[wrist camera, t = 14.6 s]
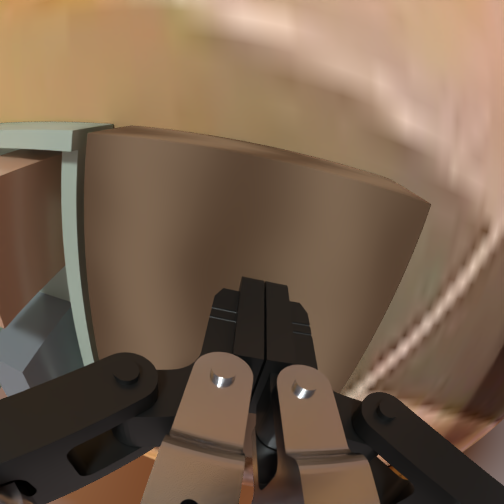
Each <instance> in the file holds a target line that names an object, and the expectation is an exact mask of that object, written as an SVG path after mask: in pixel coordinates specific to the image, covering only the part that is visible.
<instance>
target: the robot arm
mask: <svg viewBox="0 0 504 504" xmlns="http://www.w3.org/2000/svg"><path fill="white" fill-rule="evenodd" d="M309 326H310V323H309V317H308V313H307V312H306V310H305V309H304V308H303V306H302V305H301V304H300V303H298V302H292V301H289V293H288V286H287V285H283V284H278V283H273V282H268V281H265V283H264V281H263V280H258V279H253V278H248V277H243V276H242V278H241V282H240V286H239V291H236V290H231V289H226V288H223V289H222V290H220V291H219V292H218V293H217V294H216V295H215V296H214V300H213V304H212V309H211V312H210V317H209V321H208V325H207V329H206V333H205V337H204V342H203V346H202V350H201V353H200V356H199V357H198V359H197V360H196V361H195V362H193V363H192V364H190V365H189V366H186V367H184V368H180V369H172V370H156V368H155V366H154V365H153V364H152V363H151V362H150V361H149V360H148V359H146V358H145V357H143V356H141V355H138V354H135V353H129V352H122V353H116V354H113V355H110V356H108V357H105V358H103V359H101V360H98V361H96V362H93V363H91V364H89V365H86V366H84V367H82V368H79V369H77V370H74V371H72V372H69V373H67V374H65V375H62V376H60V377H57V378H55V379H52V380H50V381H47V382H45V383H42V384H40V385H37V386H35V387H32V388H29V389H27V390H24V391H22V392H19V393H17V394H14V395H11V396H9V397H6V398H3V399H1V400H0V504H46V503H49V502H51V501H54V500H56V499H58V498H60V497H63V496H65V495H67V494H69V493H71V492H73V491H76V490H78V489H80V488H82V487H84V486H86V485H88V484H90V483H92V482H94V481H96V480H98V479H100V478H102V477H104V476H106V475H108V474H109V473H111V472H113V471H115V470H117V469H119V468H121V467H122V466H124V465H126V464H128V463H129V462H131V461H133V460H135V459H136V458H138V457H140V456H141V455H143V454H145V453H147V452H148V451H150V450H151V449H153V448H154V447H158V446H160V449H159V451H158V454H157V457H156V460H155V463H154V466H153V469H152V471H151V474H150V477H149V480H148V483H147V486H146V489H145V492H144V495H143V497H142V501H141V503H140V504H239V498H240V492H241V485H242V479H243V472H244V465H245V453H243V443H244V437H245V430H246V424H247V417H248V413H254V414H256V425H255V427H254V429H253V431H252V436H251V440H252V460H253V480H254V496H253V500H252V504H504V486H503V485H502V484H501V483H499V482H498V481H497V480H496V479H494V478H493V477H492V476H490V475H489V474H488V473H487V472H485V471H484V470H483V469H482V468H481V467H479V466H478V465H477V464H476V463H474V462H473V461H472V460H471V459H469V458H468V457H467V456H466V455H464V454H463V453H462V452H461V451H460V450H458V449H457V448H456V447H455V446H454V445H452V444H451V443H450V442H449V441H447V440H446V439H445V438H444V437H443V436H441V435H440V434H439V433H438V432H437V431H435V430H434V429H433V428H432V427H431V426H429V425H428V424H427V423H426V422H425V421H423V420H422V419H421V418H420V417H419V416H417V415H416V414H415V413H414V412H413V411H411V410H410V409H409V408H408V407H407V406H405V405H404V404H403V403H402V402H401V401H400V400H398V399H397V398H396V397H394V396H392V395H390V394H387V393H382V392H376V393H372V394H369V395H368V396H367V397H366V398H365V399H364V400H363V401H359V400H356V399H353V398H350V397H347V396H344V395H341V394H339V393H337V392H335V391H333V390H332V387H331V384H330V382H329V380H328V379H327V378H326V376H325V375H324V374H322V373H321V372H320V371H318V367H317V361H316V356H315V350H314V344H313V339H312V336H311V334H312V333H311V328H310V327H309ZM378 454H379V455H380V456H381V457H382V458H383V459H385V460H386V461H387V462H388V463H389V464H390V465H391V466H393V467H394V468H395V469H396V470H397V471H398V472H399V473H401V474H402V475H403V476H404V477H405V478H407V479H408V480H405V479H402V478H401V477H399V476H398V475H397V474H396V473H395V472H393V471H392V470H391V469H390V468H389V467H388V466H387V465H385V464H384V463H383V462H382V461H381V460H380V459H379V458H378V457H376V456H377V455H378Z"/></svg>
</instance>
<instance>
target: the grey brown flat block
mask: <svg viewBox="0 0 504 504" xmlns="http://www.w3.org/2000/svg"><path fill="white" fill-rule="evenodd" d="M430 206H431V204H430V203H428V202H427V201H425V200H424V199H422V198H421V197H419V196H417V195H416V194H414V193H412V192H411V191H409V190H407V189H406V188H404V187H402V186H401V185H399V184H397V183H396V182H394V181H392V180H390V179H388V178H385V177H382V176H379V175H376V174H373V173H369V172H366V171H363V170H360V169H356V168H353V167H349V166H346V165H342V164H339V163H335V162H331V161H328V160H324V159H320V158H316V157H312V156H308V155H304V154H300V153H296V152H292V151H288V150H283V149H279V148H274V147H270V146H265V145H260V144H255V143H250V142H245V141H240V140H234V139H229V138H223V137H217V136H211V135H205V134H198V133H191V132H184V131H177V130H169V129H160V128H151V127H142V126H126V127H120V128H113V129H107V130H102V131H96V132H91V133H87V144H86V157H85V176H84V238H85V257H86V271H87V282H88V292H89V300H90V308H91V316H92V323H93V329H94V335H95V341H96V347H97V352H98V357H99V360H101V359H103V358H105V357H108V356H110V355H113V354H116V353H122V352H129V353H135V354H138V355H141V356H143V357H145V358H146V359H148V360H149V361H150V362H151V363H152V364H153V365H154V366H155V368H156V370H172V369H180V368H184V367H186V366H189V365H190V364H192V363H193V362H195V361H196V360H197V359H198V357H199V356H200V353H201V350H202V346H203V342H204V337H205V333H206V329H207V325H208V321H209V317H210V312H211V309H212V304H213V300H214V296H215V295H216V294H217V293H218V292H219V291H220V290H222V289H223V288H226V289H231V290H236V291H239V286H240V282H241V278H242V276H243V277H248V278H253V279H258V280H263V281H264V283H265V281H268V282H273V283H278V284H283V285H287V286H288V293H289V301H292V302H298V303H300V304H301V305H302V306H303V308H304V309H305V310H306V312H307V313H308V317H309V323H310V326H309V327H310V328H311V333H312V334H311V336H312V339H313V344H314V350H315V356H316V361H317V367H318V371H320V372H321V373H322V374H324V375H325V376H326V378H327V379H328V380H329V382H330V384H331V387H332V390H333V391H335V392H337V393H340V392H341V390H342V389H343V387H344V386H345V384H346V382H347V381H348V379H349V378H350V376H351V374H352V373H353V371H354V369H355V368H356V366H357V364H358V363H359V361H360V359H361V357H362V356H363V354H364V352H365V350H366V349H367V347H368V345H369V343H370V341H371V340H372V338H373V336H374V334H375V332H376V330H377V328H378V327H379V325H380V323H381V321H382V319H383V317H384V315H385V313H386V311H387V309H388V307H389V305H390V303H391V301H392V299H393V297H394V295H395V292H396V290H397V288H398V286H399V284H400V282H401V279H402V277H403V275H404V273H405V270H406V268H407V266H408V263H409V261H410V259H411V256H412V254H413V252H414V249H415V247H416V244H417V242H418V239H419V236H420V234H421V231H422V229H423V226H424V223H425V221H426V218H427V215H428V212H429V209H430ZM255 425H256V414H254V413H248V417H247V424H246V430H245V437H244V443H243V453H245V457H251V458H252V440H251V436H252V431H253V429H254V427H255Z"/></svg>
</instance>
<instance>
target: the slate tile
mask: <svg viewBox="0 0 504 504" xmlns="http://www.w3.org/2000/svg"><path fill="white" fill-rule="evenodd" d="M82 367H84V364H83V360H82V356H81V352H80V347H79V343H78V339H77V334H76V329H75V324H74V319H73V313H72V308H71V302H70V301H66V300H63V299H60V298H57V297H54V296H51V295H48V294H45V293H42V292H38V293H37V294H36V295H35V296H34V297H33V298H32V299H31V300H30V302H29V303H28V304H27V305H26V306H25V307H24V308H23V309H22V310H21V311H20V312H19V313H18V315H17V316H16V317H15V318H14V319H13V320H12V321H11V322H10V324H9V325H8V326H7V327H6V328H5V329H4V328H3V329H2V330H1V331H0V384H1V386H2V388H3V390H4V391H5V393H6V395H7V396H8V397H9V396H11V395H14V394H17V393H19V392H22V391H24V390H27V389H29V388H32V387H35V386H37V385H40V384H42V383H45V382H47V381H50V380H52V379H55V378H57V377H60V376H62V375H65V374H67V373H69V372H72V371H74V370H77V369H79V368H82Z"/></svg>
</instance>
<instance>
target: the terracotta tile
mask: <svg viewBox="0 0 504 504" xmlns="http://www.w3.org/2000/svg"><path fill="white" fill-rule="evenodd" d="M61 171H62V151H54V150H38V149H19V150H16V151H13V152H9V153H6V154H3V155H0V327H2V328H4V329H5V328H6V327H7V326H8V325H9V324H10V322H11V321H12V320H13V319H14V318H15V317H16V316H17V315H18V313H19V312H20V311H21V310H22V309H23V308H24V307H25V306H26V305H27V304H28V303H29V302H30V300H31V299H32V298H33V297H34V296H35V295H36V294H37V293H38V292H39V291H40V290H41V289H42V288H43V287H44V286H45V285H46V284H47V283H48V282H49V281H50V280H51V279H52V278H53V277H54V276H55V275H56V274H57V273H58V272H59V271H60V270H61V269H62V268H63V267H64V266H65V255H64V244H63V230H62V206H61Z"/></svg>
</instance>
